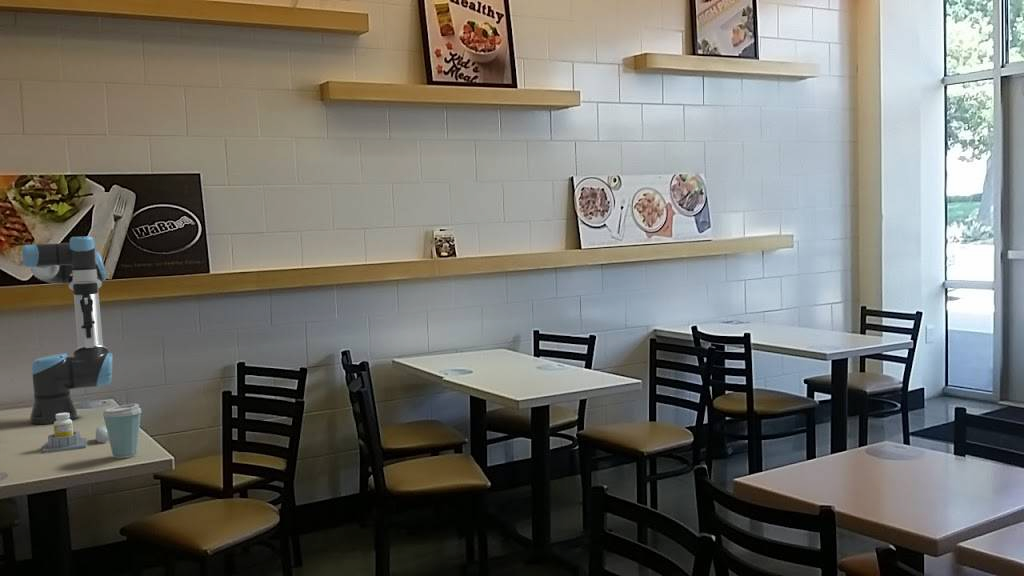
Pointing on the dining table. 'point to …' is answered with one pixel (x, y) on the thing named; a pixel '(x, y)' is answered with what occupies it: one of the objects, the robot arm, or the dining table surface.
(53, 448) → the coupling socket
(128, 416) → the disposable coffee cup
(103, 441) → the pipe stub
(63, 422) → the supplement bottle
